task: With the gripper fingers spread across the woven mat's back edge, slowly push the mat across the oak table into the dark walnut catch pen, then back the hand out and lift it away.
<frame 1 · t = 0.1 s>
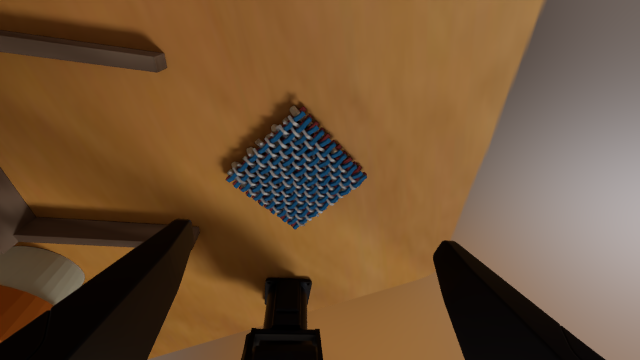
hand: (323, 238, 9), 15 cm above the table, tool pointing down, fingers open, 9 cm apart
woven mat: (297, 169, 25), on the table
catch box: (93, 155, 22), on the table
reusable coffee cup: (44, 267, 31), on the table
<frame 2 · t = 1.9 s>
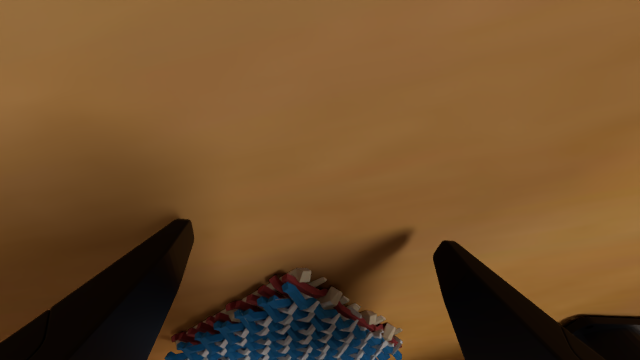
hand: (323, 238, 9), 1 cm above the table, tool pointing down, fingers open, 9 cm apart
woven mat: (294, 321, 16), on the table
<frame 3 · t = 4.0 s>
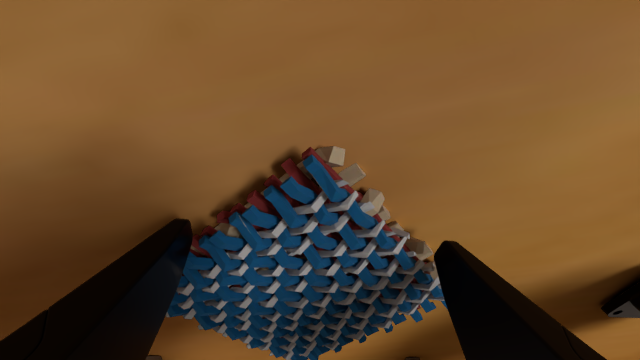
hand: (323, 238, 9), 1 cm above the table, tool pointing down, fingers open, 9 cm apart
woven mat: (308, 262, 12), on the table
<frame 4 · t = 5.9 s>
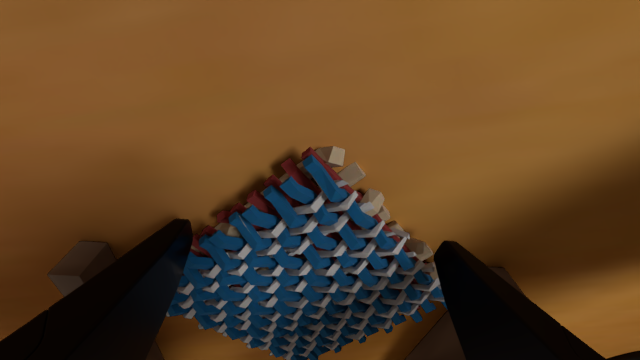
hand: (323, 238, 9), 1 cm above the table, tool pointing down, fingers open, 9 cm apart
woven mat: (308, 262, 12), on the table, touching gripper
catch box: (296, 337, 15), on the table
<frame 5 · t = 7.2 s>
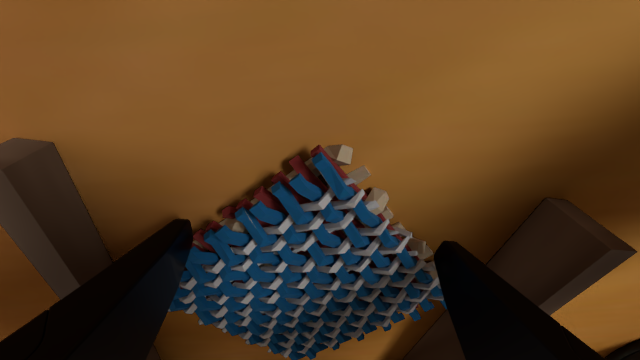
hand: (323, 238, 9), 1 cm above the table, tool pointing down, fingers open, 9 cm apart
woven mat: (309, 260, 12), on the table
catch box: (303, 299, 13), on the table
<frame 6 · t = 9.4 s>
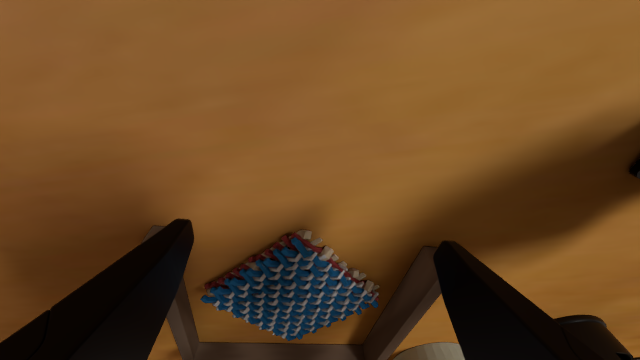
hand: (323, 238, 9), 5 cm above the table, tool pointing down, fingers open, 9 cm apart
woven mat: (296, 279, 20), on the table
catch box: (293, 300, 21), on the table
french press: (557, 332, 28), on the table
reusable coffee cup: (428, 356, 30), on the table
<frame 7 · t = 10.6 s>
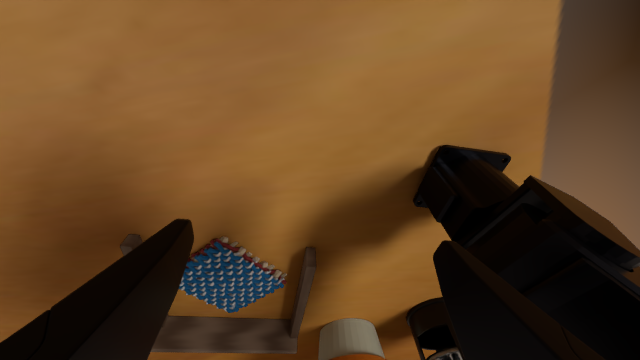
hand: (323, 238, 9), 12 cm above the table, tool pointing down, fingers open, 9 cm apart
woven mat: (230, 269, 30), on the table
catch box: (229, 284, 30), on the table
french press: (439, 311, 38), on the table
reusable coffee cup: (347, 330, 40), on the table
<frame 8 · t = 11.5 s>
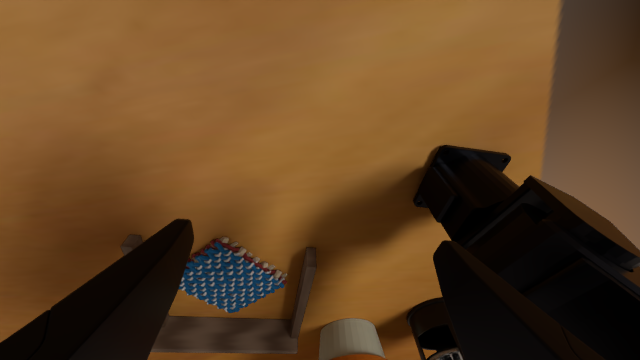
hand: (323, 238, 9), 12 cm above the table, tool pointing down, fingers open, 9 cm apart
woven mat: (231, 269, 30), on the table
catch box: (230, 284, 30), on the table
french press: (439, 311, 38), on the table
reusable coffee cup: (347, 330, 40), on the table
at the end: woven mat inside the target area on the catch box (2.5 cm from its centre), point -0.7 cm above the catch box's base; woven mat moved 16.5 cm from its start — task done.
